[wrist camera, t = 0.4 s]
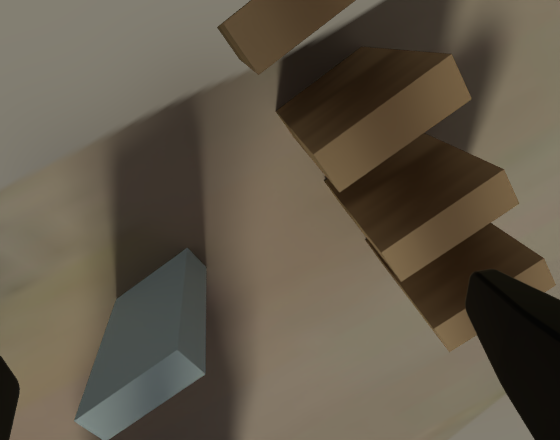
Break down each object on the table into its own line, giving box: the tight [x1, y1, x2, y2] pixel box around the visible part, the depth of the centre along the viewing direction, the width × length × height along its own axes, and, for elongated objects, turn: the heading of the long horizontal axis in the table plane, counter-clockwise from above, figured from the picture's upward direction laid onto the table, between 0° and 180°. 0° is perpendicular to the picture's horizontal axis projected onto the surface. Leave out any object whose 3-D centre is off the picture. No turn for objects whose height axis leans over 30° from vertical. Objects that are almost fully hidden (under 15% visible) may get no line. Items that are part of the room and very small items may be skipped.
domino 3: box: [276, 47, 472, 193], centre depth 17 cm, size 5×2×8 cm, turn 125°
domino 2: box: [217, 0, 355, 75], centre depth 15 cm, size 5×2×8 cm, turn 125°
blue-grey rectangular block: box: [74, 248, 206, 440], centre depth 19 cm, size 5×2×8 cm, turn 125°
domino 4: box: [325, 133, 519, 282], centre depth 18 cm, size 5×2×8 cm, turn 125°
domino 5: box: [366, 223, 556, 352], centre depth 20 cm, size 5×2×8 cm, turn 125°
